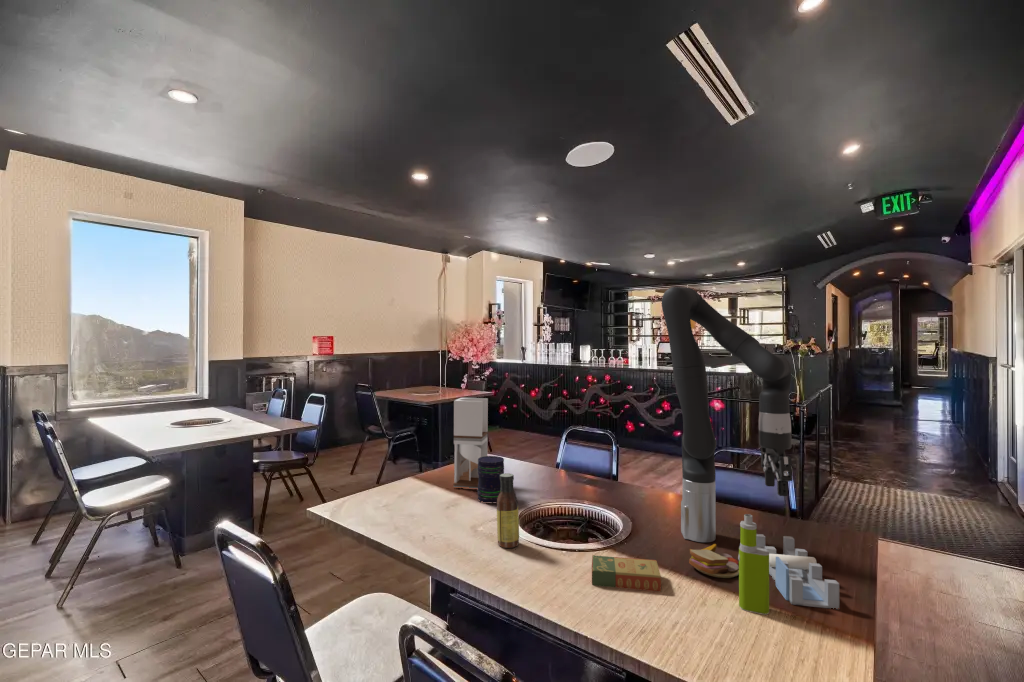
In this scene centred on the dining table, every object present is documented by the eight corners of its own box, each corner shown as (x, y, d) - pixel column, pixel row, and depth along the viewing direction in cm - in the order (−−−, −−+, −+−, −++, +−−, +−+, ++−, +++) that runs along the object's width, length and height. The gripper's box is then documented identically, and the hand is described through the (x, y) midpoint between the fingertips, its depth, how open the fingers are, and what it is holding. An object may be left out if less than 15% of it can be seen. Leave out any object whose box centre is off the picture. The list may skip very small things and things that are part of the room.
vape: (737, 600, 104) (737, 511, 105) (768, 606, 102) (768, 515, 102) (738, 609, 101) (738, 516, 101) (770, 615, 99) (770, 521, 99)
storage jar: (503, 504, 167) (503, 462, 167) (476, 503, 167) (476, 462, 168) (504, 495, 177) (504, 456, 177) (478, 495, 177) (478, 455, 178)
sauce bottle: (523, 544, 133) (523, 475, 134) (508, 551, 129) (508, 479, 129) (507, 537, 138) (507, 470, 138) (492, 544, 133) (492, 474, 134)
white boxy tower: (453, 488, 185) (454, 400, 185) (460, 481, 196) (461, 397, 196) (481, 490, 183) (481, 401, 184) (487, 482, 194) (487, 398, 194)
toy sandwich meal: (754, 576, 116) (754, 557, 116) (708, 584, 112) (708, 564, 112) (718, 554, 128) (718, 537, 128) (676, 561, 124) (676, 543, 124)
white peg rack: (788, 604, 103) (788, 572, 103) (752, 553, 128) (752, 528, 128) (839, 609, 101) (839, 576, 101) (792, 557, 126) (792, 531, 126)
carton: (661, 593, 108) (661, 575, 108) (591, 587, 111) (591, 569, 111) (656, 576, 116) (656, 558, 116) (591, 570, 119) (591, 553, 119)
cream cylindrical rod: (772, 569, 114) (772, 556, 114) (767, 563, 117) (767, 551, 117) (817, 573, 112) (817, 560, 112) (811, 567, 115) (811, 555, 115)
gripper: (750, 425, 131) (751, 482, 131) (769, 433, 117) (771, 498, 117) (779, 425, 130) (780, 483, 130) (802, 434, 116) (803, 499, 116)
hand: (776, 490), depth 123 cm, fingers open, 8 cm apart
